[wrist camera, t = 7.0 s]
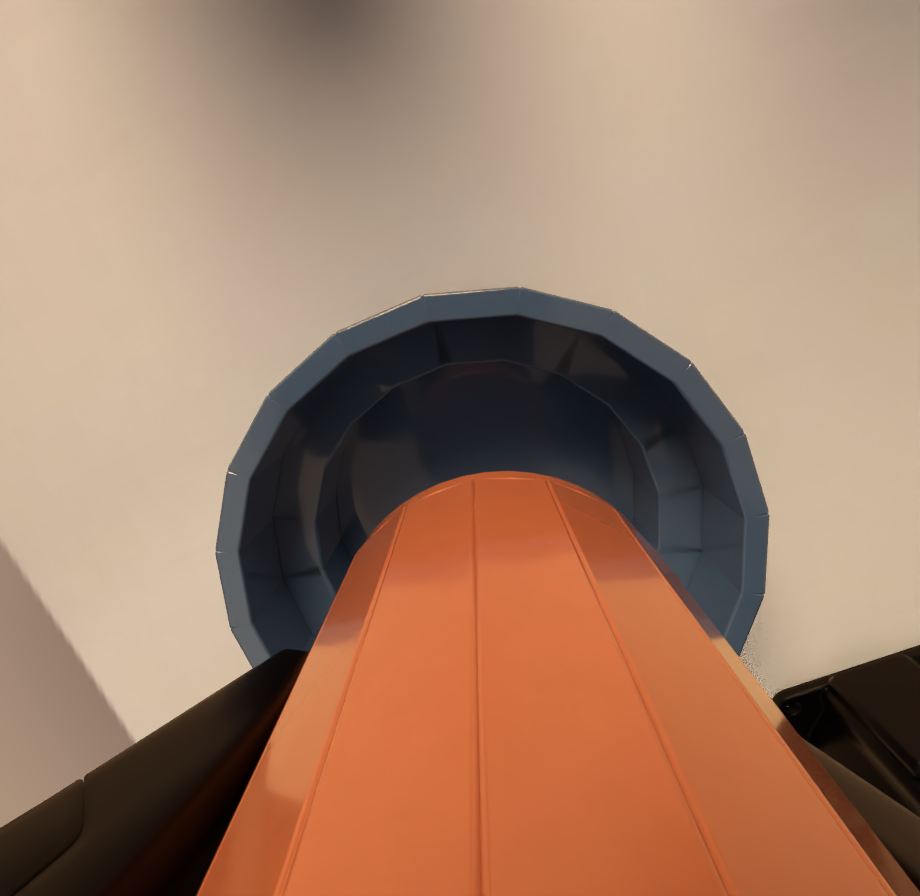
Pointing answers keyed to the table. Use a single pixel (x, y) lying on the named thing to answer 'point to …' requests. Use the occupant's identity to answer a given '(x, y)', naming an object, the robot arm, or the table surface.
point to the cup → (534, 727)
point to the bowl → (484, 450)
